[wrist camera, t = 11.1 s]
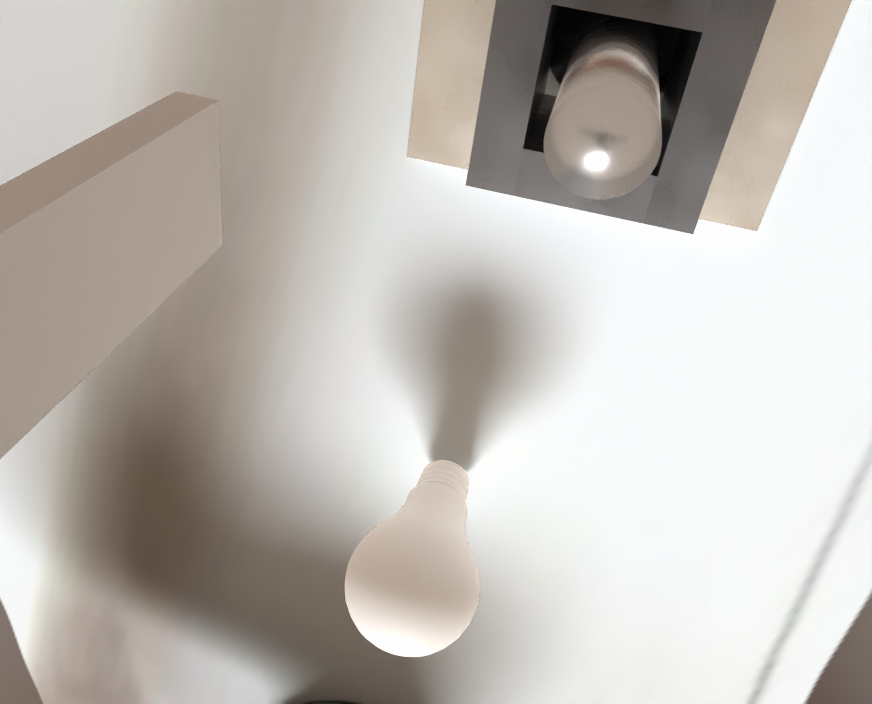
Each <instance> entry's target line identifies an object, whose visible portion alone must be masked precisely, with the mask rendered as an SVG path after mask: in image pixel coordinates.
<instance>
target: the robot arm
mask: <svg viewBox="0 0 872 704" xmlns="http://www.w3.org/2000/svg"><path fill="white" fill-rule="evenodd" d="M221 247H222V213H221V180H220V146H219V113H218V100H214V99H209V98H204V97H199V96H195V95H190V94H185V93H180V92H174V93H172V94H170V95H169V96H167V97H165V98H163V99H161V100H159V101H157V102H156V103H154V104H152V105H150V106H148V107H146V108H144V109H143V110H141V111H139V112H137V113H135V114H133V115H131V116H129V117H128V118H126V119H124V120H122V121H120V122H118V123H116V124H115V125H113V126H111V127H109V128H107V129H105V130H103V131H102V132H100V133H98V134H96V135H94V136H92V137H90V138H88V139H87V140H85V141H83V142H81V143H79V144H77V145H75V146H74V147H72V148H70V149H68V150H66V151H64V152H62V153H61V154H59V155H57V156H55V157H53V158H51V159H49V160H47V161H46V162H44V163H42V164H40V165H38V166H36V167H34V168H33V169H31V170H29V171H27V172H25V173H23V174H21V175H20V176H18V177H16V178H14V179H12V180H10V181H8V182H6V183H5V184H3V185H1V186H0V459H1V458H2V457H3V456H4V455H5V454H6V453H7V452H8V451H9V450H10V449H11V448H12V447H13V446H14V445H15V444H17V443H18V442H19V441H20V440H21V439H22V438H23V437H24V436H25V435H26V434H27V433H28V432H29V431H30V430H31V429H32V428H33V427H34V426H35V425H36V424H37V423H38V422H39V421H40V420H42V419H43V418H44V417H45V416H46V415H47V414H48V413H49V412H50V411H51V410H52V409H53V408H54V407H55V406H56V405H57V404H58V403H59V402H60V401H61V400H62V399H63V398H64V397H65V396H66V395H68V394H69V393H70V392H71V391H72V390H73V389H74V388H75V387H76V386H77V385H78V384H79V383H80V382H81V381H82V380H83V379H84V378H85V377H86V376H87V375H88V374H89V373H90V372H91V371H93V370H94V369H95V368H96V367H97V366H98V365H99V364H100V363H101V362H102V361H103V360H104V359H105V358H106V357H107V356H108V355H109V354H110V353H111V352H112V351H113V350H114V349H115V348H116V347H117V346H119V345H120V344H121V343H122V342H123V341H124V340H125V339H126V338H127V337H128V336H129V335H130V334H131V333H132V332H133V331H134V330H135V329H136V328H137V327H138V326H139V325H140V324H141V323H142V322H143V321H145V320H146V319H147V318H148V317H149V316H150V315H151V314H152V313H153V312H154V311H155V310H156V309H157V308H158V307H159V306H160V305H161V304H162V303H163V302H164V301H165V300H166V299H167V298H168V297H170V296H171V295H172V294H173V293H174V292H175V291H176V290H177V289H178V288H179V287H180V286H181V285H182V284H183V283H184V282H185V281H186V280H187V279H188V278H189V277H190V276H191V275H192V274H193V273H194V272H196V271H197V270H198V269H199V268H200V267H201V266H202V265H203V264H204V263H205V262H206V261H207V260H208V259H209V258H210V257H211V256H212V255H213V254H214V253H215V252H216V251H217V250H218V249H219V248H221ZM313 704H344V703H313Z"/></svg>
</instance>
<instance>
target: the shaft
mask: <svg viewBox="0 0 872 704" xmlns="http://www.w3.org/2000/svg"><path fill="white" fill-rule="evenodd" d="M495 3H496V0H424V8H423V17H422V26H421V35H420V44H419V52H418V61H417V70H416V79H415V88H414V96H413V105H412V114H411V123H410V132H409V141H408V149H407V157H411V158H416V159H421V160H426V161H430V162H435V163H440V164H444V165H449V166H454V167H458V168H463V169H469V163H470V157H471V151H472V144H473V138H474V132H475V126H476V120H477V114H478V107H479V101H480V95H481V89H482V83H483V77H484V70H485V64H486V58H487V52H488V46H489V40H490V33H491V27H492V21H493V15H494V9H495ZM850 3H851V0H776V3H775V5H774V8H773V11H772V14H771V17H770V19H769V22H768V25H767V28H766V31H765V33H764V36H763V39H762V42H761V45H760V47H759V50H758V53H757V56H756V59H755V62H754V64H753V67H752V70H751V73H750V76H749V78H748V81H747V84H746V87H745V90H744V92H743V95H742V98H741V101H740V104H739V106H738V109H737V112H736V115H735V118H734V120H733V123H732V126H731V129H730V132H729V134H728V137H727V140H726V143H725V146H724V148H723V151H722V154H721V157H720V160H719V162H718V165H717V168H716V171H715V174H714V176H713V179H712V182H711V185H710V188H709V190H708V193H707V196H706V199H705V202H704V205H703V207H702V210H701V213H700V216H699V219H703V220H708V221H712V222H717V223H722V224H726V225H731V226H736V227H740V228H745V229H750V230H755V231H757V230H758V227H759V225H760V223H761V220H762V218H763V215H764V213H765V210H766V208H767V206H768V203H769V201H770V198H771V196H772V193H773V191H774V188H775V186H776V184H777V181H778V179H779V176H780V174H781V171H782V169H783V166H784V164H785V162H786V159H787V157H788V154H789V152H790V149H791V147H792V144H793V142H794V140H795V137H796V135H797V132H798V130H799V127H800V125H801V122H802V120H803V118H804V115H805V113H806V110H807V108H808V105H809V103H810V101H811V98H812V96H813V93H814V91H815V88H816V86H817V83H818V81H819V79H820V76H821V74H822V71H823V69H824V66H825V64H826V61H827V59H828V57H829V54H830V52H831V49H832V47H833V44H834V42H835V39H836V37H837V35H838V32H839V30H840V27H841V25H842V22H843V20H844V18H845V15H846V13H847V10H848V8H849V5H850ZM680 32H681V28H676V27H671V26H665V25H660V24H655V23H649V22H644V21H638V20H633V19H628V18H622V17H617V16H611V15H606V14H601V13H595V12H590V11H585V10H579V9H574V8H568V7H563V8H562V12H561V17H560V22H559V27H558V32H557V36H556V41H555V46H554V51H553V55H552V60H551V65H550V70H549V75H548V79H547V84H546V89H545V94H548V95H553V96H557V98H556V101H555V104H554V107H553V109H552V112H551V115H550V118H549V121H548V124H547V127H546V131H545V135H544V155H545V159H546V163H547V165H548V168H549V170H550V171H551V173H552V175H553V176H554V177H555V179H556V180H557V181H558V182H559V183H560V184H561V185H562V186H563V187H564V188H566V189H567V190H569V191H570V192H572V193H574V194H576V195H578V196H581V197H585V198H588V199H596V200H604V199H612V198H617V197H620V196H623V195H625V194H627V193H629V192H631V191H633V190H634V189H636V188H637V187H639V186H640V185H641V184H642V183H643V182H644V181H645V180H646V179H647V178H648V177H649V176H650V174H651V173H652V172H653V170H654V168H655V166H656V165H657V162H658V160H659V157H660V153H661V148H662V128H661V109H660V100H661V96H662V93H663V90H664V86H665V83H666V79H667V76H668V73H669V69H670V66H671V63H672V59H673V56H674V53H675V49H676V46H677V42H678V39H679V36H680Z"/></svg>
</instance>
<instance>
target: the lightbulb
mask: <svg viewBox="0 0 872 704" xmlns="http://www.w3.org/2000/svg"><path fill="white" fill-rule="evenodd" d="M468 486H469V478H468V475H467V473H466V472H465V470H464V469H463V468H462V467H461V466H460V465H458V464H456V463H454V462H452V461H449V460H437V461H433V462H431V463H429V464H428V465H427V466H426V467H425V469H424V471H423V473H422V474H421V477H420V479H419V481H418V484H417V485H416V487H414V488H413V489H412V490H411V491H410V493H409V495H408V497H407V499H406V501H405V503H404V505H403V506H402V508H401V509H400V510H399V512H398V513H397V514H395V515H394V516H393V517H391V518H390V519H388V520H386V521H385V522H383V523H381V524H380V525H378V526H377V527H376V528H374V529H373V530H372V531H370V532H369V533H368V534H367V535H366V536H365V537H364V538H363V539H362V540H361V542H360V543H359V544H358V546H357V547H356V548H355V550H354V552H353V554H352V556H351V558H350V560H349V563H348V566H347V571H346V577H345V599H346V604H347V607H348V610H349V613H350V615H351V618H352V620H353V622H354V623H355V625H356V627H357V628H358V630H359V631H360V633H361V634H362V635H363V636H364V637H365V638H366V639H367V640H368V641H370V642H371V643H372V644H374V645H375V646H376V647H378V648H380V649H381V650H383V651H386V652H388V653H391V654H394V655H398V656H403V657H423V656H427V655H431V654H433V653H435V652H438V651H440V650H442V649H444V648H446V647H447V646H449V645H450V644H451V643H453V642H454V641H455V640H457V639H458V638H459V637H460V636H461V635H462V633H463V632H464V631H465V629H466V628H467V627H468V625H469V624H470V623H471V620H472V618H473V616H474V614H475V612H476V609H477V606H478V602H479V597H480V575H479V571H478V567H477V564H476V561H475V558H474V555H473V552H472V550H471V548H470V545H469V543H468V541H467V538H466V533H465V524H466V518H467V505H466V499H467V493H468Z"/></svg>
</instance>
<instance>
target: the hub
mask: <svg viewBox="0 0 872 704" xmlns="http://www.w3.org/2000/svg"><path fill="white" fill-rule="evenodd" d="M775 3H776V0H496V3H495V9H494V15H493V21H492V27H491V33H490V40H489V46H488V52H487V58H486V64H485V70H484V77H483V83H482V89H481V95H480V101H479V107H478V114H477V120H476V126H475V132H474V138H473V144H472V151H471V157H470V163H469V169H468V175H467V181H466V185H467V186H471V187H476V188H481V189H485V190H490V191H495V192H499V193H504V194H509V195H513V196H518V197H523V198H527V199H532V200H537V201H541V202H546V203H551V204H555V205H560V206H565V207H569V208H574V209H579V210H583V211H588V212H593V213H597V214H602V215H607V216H611V217H616V218H621V219H625V220H630V221H635V222H639V223H644V224H649V225H653V226H658V227H663V228H667V229H672V230H677V231H681V232H686V233H691V234H693V233H694V230H695V227H696V224H697V221H698V219H699V216H700V213H701V210H702V207H703V205H704V202H705V199H706V196H707V193H708V190H709V188H710V185H711V182H712V179H713V176H714V174H715V171H716V168H717V165H718V162H719V160H720V157H721V154H722V151H723V148H724V146H725V143H726V140H727V137H728V134H729V132H730V129H731V126H732V123H733V120H734V118H735V115H736V112H737V109H738V106H739V104H740V101H741V98H742V95H743V92H744V90H745V87H746V84H747V81H748V78H749V76H750V73H751V70H752V67H753V64H754V62H755V59H756V56H757V53H758V50H759V47H760V45H761V42H762V39H763V36H764V33H765V31H766V28H767V25H768V22H769V19H770V17H771V14H772V11H773V8H774V5H775ZM563 7H568V8H574V9H579V10H585V11H590V12H595V13H601V14H606V15H611V16H617V17H622V18H628V19H633V20H638V21H644V22H649V23H655V24H660V25H665V26H671V27H676V28H681V32H680V36H679V39H678V42H677V46H676V49H675V53H674V56H673V59H672V63H671V66H670V69H669V73H668V76H667V79H666V83H665V86H664V90H663V93H662V96H661V100H660V109H661V128H662V148H661V153H660V157H659V160H658V162H657V165H656V166H655V168H654V170H653V172H652V173H651V174H650V176H649V177H648V178H647V179H646V180H645V181H644V182H643V183H642V184H641V185H640V186H639V187H637V188H636V189H634V190H633V191H631V192H629V193H627V194H625V195H623V196H620V197H617V198H612V199H604V200H596V199H588V198H585V197H581V196H578V195H576V194H574V193H572V192H570V191H569V190H567V189H566V188H564V187H563V186H562V185H561V184H560V183H559V182H558V181H557V180H556V179H555V177H554V176H553V175H552V173H551V171H550V170H549V168H548V165H547V163H546V159H545V155H544V135H545V131H546V127H547V124H548V121H549V118H550V115H551V112H552V109H553V107H554V104H555V101H556V98H557V96H553V95H548V94H545V89H546V84H547V79H548V75H549V70H550V65H551V60H552V55H553V51H554V46H555V41H556V36H557V32H558V27H559V22H560V17H561V12H562V8H563Z"/></svg>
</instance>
